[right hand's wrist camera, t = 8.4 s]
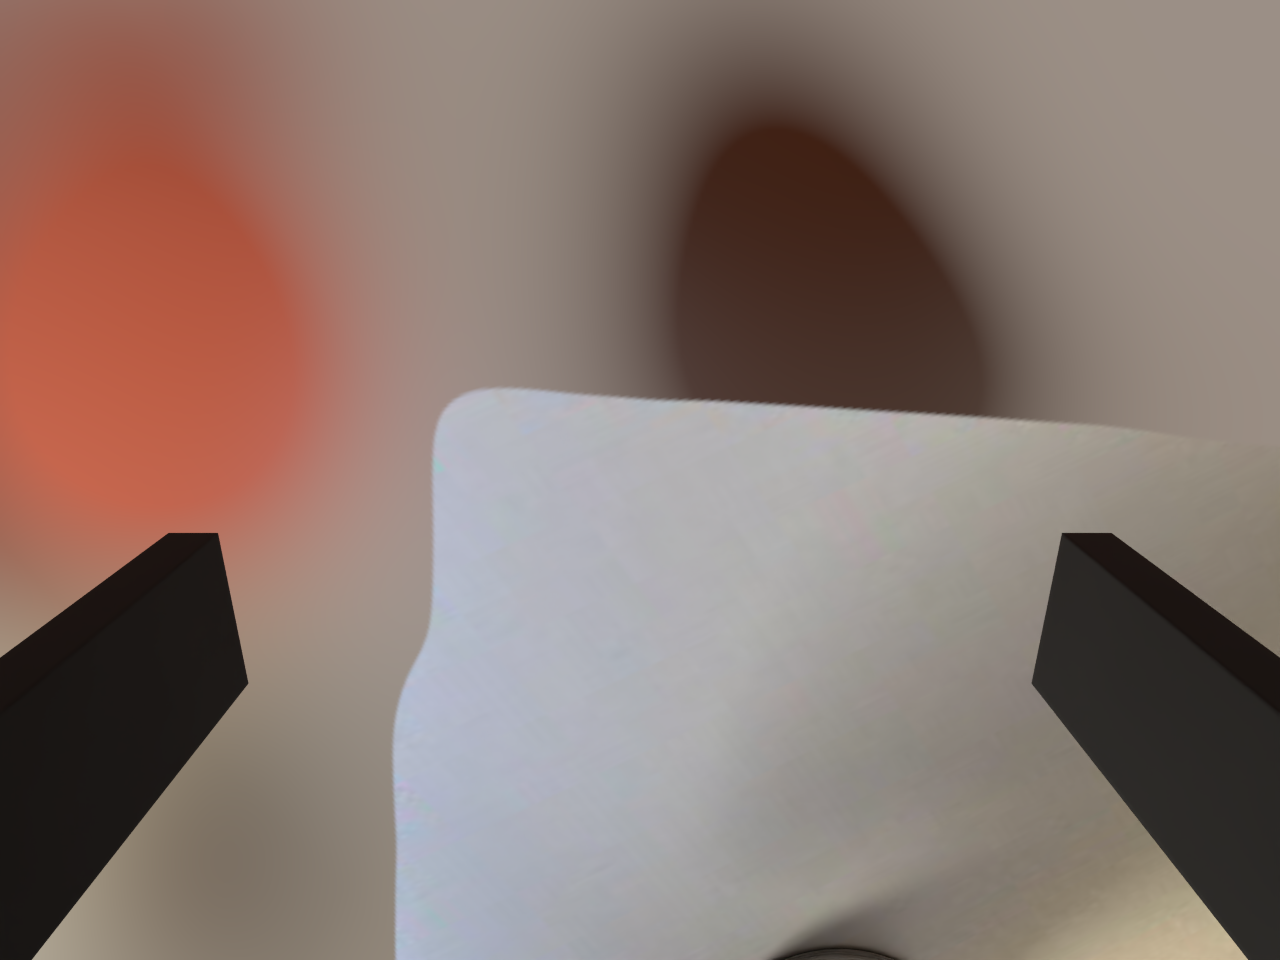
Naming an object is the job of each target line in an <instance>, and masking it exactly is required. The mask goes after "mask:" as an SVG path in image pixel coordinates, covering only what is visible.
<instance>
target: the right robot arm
mask: <svg viewBox="0 0 1280 960" xmlns="http://www.w3.org/2000/svg"><path fill="white" fill-rule="evenodd" d="M247 685H248V680H247V674H246V669H245V665H244V660H243V655H242V650H241V645H240V640H239V635H238V630H237V625H236V620H235V615H234V610H233V605H232V600H231V595H230V591H229V586H228V581H227V576H226V571H225V566H224V561H223V556H222V551H221V546H220V541H219V536H218V533H168V534H167V535H165V536H164V537H163V538H161V539H160V540H159V541H157V542H156V543H155V544H153V545H152V546H150V547H149V548H148V549H146V550H145V551H144V552H142V553H141V554H140V555H138V556H137V557H136V558H134V559H133V560H132V561H130V562H129V563H128V564H126V565H125V566H123V567H122V568H121V569H119V570H118V571H117V572H115V573H114V574H113V575H111V576H110V577H109V578H107V579H106V580H105V581H103V582H102V583H101V584H99V585H98V586H97V587H95V588H94V589H92V590H91V591H90V592H88V593H87V594H86V595H84V596H83V597H82V598H80V599H79V600H78V601H76V602H75V603H74V604H72V605H71V606H69V607H68V608H67V609H65V610H64V611H63V612H61V613H60V614H59V615H57V616H56V617H55V618H53V619H52V620H51V621H49V622H48V623H47V624H45V625H44V626H42V627H41V628H40V629H38V630H37V631H36V632H34V633H33V634H32V635H30V636H29V637H28V638H26V639H25V640H24V641H22V642H21V643H20V644H18V645H17V646H15V647H14V648H13V649H11V650H10V651H9V652H7V653H6V654H5V655H3V656H2V657H1V658H0V960H32V959H33V957H34V956H35V955H36V953H37V952H38V951H39V950H40V948H41V947H42V946H43V945H44V943H45V942H46V941H47V939H48V938H49V937H50V936H51V934H52V933H53V932H54V931H55V929H56V928H57V927H58V925H59V924H60V923H61V922H62V920H63V919H64V918H65V917H66V915H67V914H68V913H69V911H70V910H71V909H72V908H73V906H74V905H75V904H76V902H77V901H78V900H79V899H80V897H81V896H82V895H83V893H84V892H85V891H86V890H87V888H88V887H89V886H90V885H91V883H92V882H93V881H94V879H95V878H96V877H97V876H98V874H99V873H100V872H101V871H102V869H103V868H104V867H105V865H106V864H107V863H108V862H109V860H110V859H111V858H112V857H113V855H114V854H115V853H116V852H117V850H118V849H119V848H120V846H121V845H122V844H123V843H124V841H125V840H126V839H127V838H128V836H129V835H130V834H131V832H132V831H133V830H134V829H135V827H136V826H137V825H138V823H139V822H140V821H141V820H142V818H143V817H144V816H145V815H146V813H147V812H148V811H149V809H150V808H151V807H152V806H153V804H154V803H155V802H156V801H157V799H158V798H159V797H160V795H161V794H162V793H163V792H164V790H165V789H166V788H167V786H168V785H169V784H170V783H171V781H172V780H173V779H174V778H175V776H176V775H177V774H178V772H179V771H180V770H181V769H182V767H183V766H184V765H185V764H186V762H187V761H188V760H189V758H190V757H191V756H192V755H193V753H194V752H195V751H196V750H197V748H198V747H199V746H200V744H201V743H202V742H203V741H204V739H205V738H206V737H207V736H208V734H209V733H210V732H211V730H212V729H213V728H214V727H215V725H216V724H217V723H218V721H219V720H220V719H221V718H222V716H223V715H224V714H225V713H226V711H227V710H228V709H229V707H230V706H231V705H232V704H233V702H234V701H235V700H236V698H237V697H238V696H239V695H240V693H241V692H242V691H243V690H244V688H245V687H246V686H247ZM1032 685H1033V686H1034V687H1035V688H1036V690H1037V691H1038V692H1039V693H1040V695H1041V696H1042V697H1043V699H1044V700H1045V701H1046V702H1047V704H1048V705H1049V706H1050V707H1051V709H1052V710H1053V711H1054V713H1055V714H1056V715H1057V716H1058V718H1059V719H1060V720H1061V721H1062V723H1063V724H1064V725H1065V727H1066V728H1067V729H1068V730H1069V732H1070V733H1071V734H1072V736H1073V737H1074V738H1075V739H1076V741H1077V742H1078V743H1079V744H1080V746H1081V747H1082V748H1083V750H1084V751H1085V752H1086V753H1087V755H1088V756H1089V757H1090V758H1091V760H1092V761H1093V762H1094V764H1095V765H1096V766H1097V767H1098V769H1099V770H1100V771H1101V772H1102V774H1103V775H1104V776H1105V778H1106V779H1107V780H1108V781H1109V783H1110V784H1111V785H1112V787H1113V788H1114V789H1115V790H1116V792H1117V793H1118V794H1119V795H1120V797H1121V798H1122V799H1123V801H1124V802H1125V803H1126V804H1127V806H1128V807H1129V808H1130V809H1131V811H1132V812H1133V813H1134V815H1135V816H1136V817H1137V818H1138V820H1139V821H1140V822H1141V823H1142V825H1143V826H1144V827H1145V829H1146V830H1147V831H1148V832H1149V834H1150V835H1151V836H1152V838H1153V839H1154V840H1155V841H1156V843H1157V844H1158V845H1159V846H1160V848H1161V849H1162V850H1163V852H1164V853H1165V854H1166V855H1167V857H1168V858H1169V859H1170V860H1171V862H1172V863H1173V864H1174V866H1175V867H1176V868H1177V869H1178V871H1179V872H1180V873H1181V874H1182V876H1183V877H1184V878H1185V880H1186V881H1187V882H1188V883H1189V885H1190V886H1191V887H1192V889H1193V890H1194V891H1195V892H1196V894H1197V895H1198V896H1199V897H1200V899H1201V900H1202V901H1203V903H1204V904H1205V905H1206V906H1207V908H1208V909H1209V910H1210V911H1211V913H1212V914H1213V915H1214V917H1215V918H1216V919H1217V920H1218V922H1219V923H1220V924H1221V926H1222V927H1223V928H1224V929H1225V931H1226V932H1227V933H1228V934H1229V936H1230V937H1231V938H1232V940H1233V941H1234V942H1235V943H1236V945H1237V946H1238V947H1239V948H1240V950H1241V951H1242V952H1243V954H1244V955H1245V956H1246V957H1247V959H1248V960H1280V658H1279V657H1278V656H1277V655H1275V654H1274V653H1273V652H1271V651H1270V650H1269V649H1267V648H1266V647H1265V646H1263V645H1262V644H1261V643H1259V642H1258V641H1256V640H1255V639H1254V638H1252V637H1251V636H1250V635H1248V634H1247V633H1246V632H1244V631H1243V630H1242V629H1240V628H1239V627H1238V626H1236V625H1235V624H1234V623H1232V622H1231V621H1229V620H1228V619H1227V618H1225V617H1224V616H1223V615H1221V614H1220V613H1219V612H1217V611H1216V610H1215V609H1213V608H1212V607H1211V606H1209V605H1208V604H1207V603H1205V602H1204V601H1202V600H1201V599H1200V598H1198V597H1197V596H1196V595H1194V594H1193V593H1192V592H1190V591H1189V590H1188V589H1186V588H1185V587H1184V586H1182V585H1181V584H1180V583H1178V582H1177V581H1175V580H1174V579H1173V578H1171V577H1170V576H1169V575H1167V574H1166V573H1165V572H1163V571H1162V570H1161V569H1159V568H1158V567H1157V566H1155V565H1154V564H1152V563H1151V562H1150V561H1148V560H1147V559H1146V558H1144V557H1143V556H1142V555H1140V554H1139V553H1138V552H1136V551H1135V550H1134V549H1132V548H1131V547H1130V546H1128V545H1127V544H1125V543H1124V542H1123V541H1121V540H1120V539H1119V538H1117V537H1116V536H1115V535H1113V534H1112V533H1062V536H1061V541H1060V546H1059V551H1058V556H1057V561H1056V566H1055V571H1054V576H1053V581H1052V585H1051V590H1050V595H1049V600H1048V605H1047V610H1046V615H1045V620H1044V625H1043V630H1042V635H1041V640H1040V645H1039V650H1038V655H1037V660H1036V664H1035V669H1034V674H1033V679H1032ZM784 960H893V959H891V958H888V957H885V956H882V955H879V954H875V953H871V952H866V951H859V950H850V949H829V950H819V951H813V952H807V953H803V954H799V955H795V956H792V957H789V958H786V959H784Z"/></svg>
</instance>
